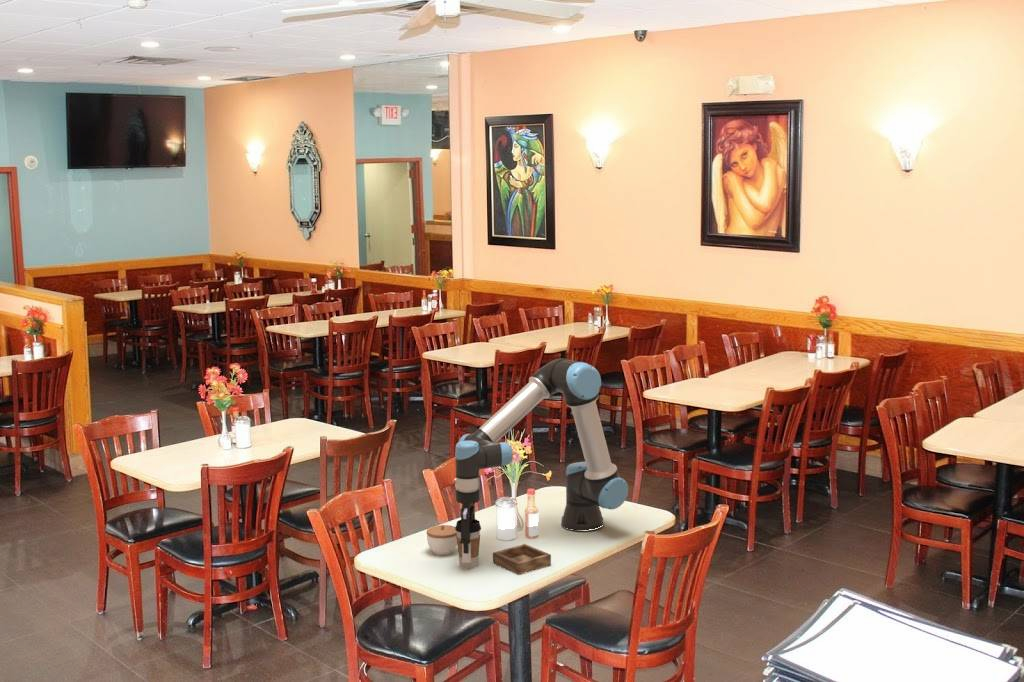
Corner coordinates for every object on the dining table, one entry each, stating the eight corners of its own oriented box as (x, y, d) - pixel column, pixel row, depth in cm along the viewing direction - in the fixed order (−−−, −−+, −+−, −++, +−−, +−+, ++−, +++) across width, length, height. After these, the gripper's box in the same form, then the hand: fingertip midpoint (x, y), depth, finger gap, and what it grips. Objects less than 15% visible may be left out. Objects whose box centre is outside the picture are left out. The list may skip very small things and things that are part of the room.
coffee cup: (459, 571, 335) (458, 526, 333) (453, 562, 343) (452, 518, 341) (484, 568, 337) (484, 523, 335) (478, 559, 345) (477, 515, 343)
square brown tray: (524, 554, 350) (524, 543, 350) (550, 565, 340) (550, 554, 339) (492, 563, 342) (492, 552, 342) (518, 574, 332) (518, 563, 331)
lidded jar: (457, 557, 348) (456, 530, 346) (425, 557, 348) (424, 530, 347) (460, 546, 358) (460, 520, 357) (429, 546, 359) (428, 520, 358)
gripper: (461, 480, 347) (462, 546, 350) (450, 498, 327) (451, 568, 330) (483, 480, 346) (484, 547, 350) (474, 498, 326) (475, 569, 329)
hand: (468, 557), depth 340 cm, fingers closed on coffee cup, 8 cm apart
